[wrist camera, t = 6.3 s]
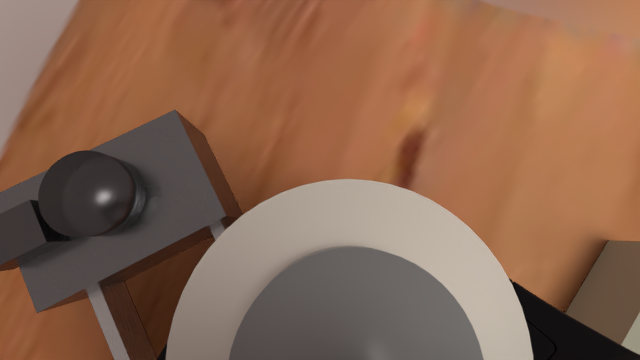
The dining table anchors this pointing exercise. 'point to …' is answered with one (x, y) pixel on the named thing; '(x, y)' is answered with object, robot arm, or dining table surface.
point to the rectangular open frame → (612, 295)
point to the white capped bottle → (348, 283)
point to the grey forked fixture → (114, 222)
